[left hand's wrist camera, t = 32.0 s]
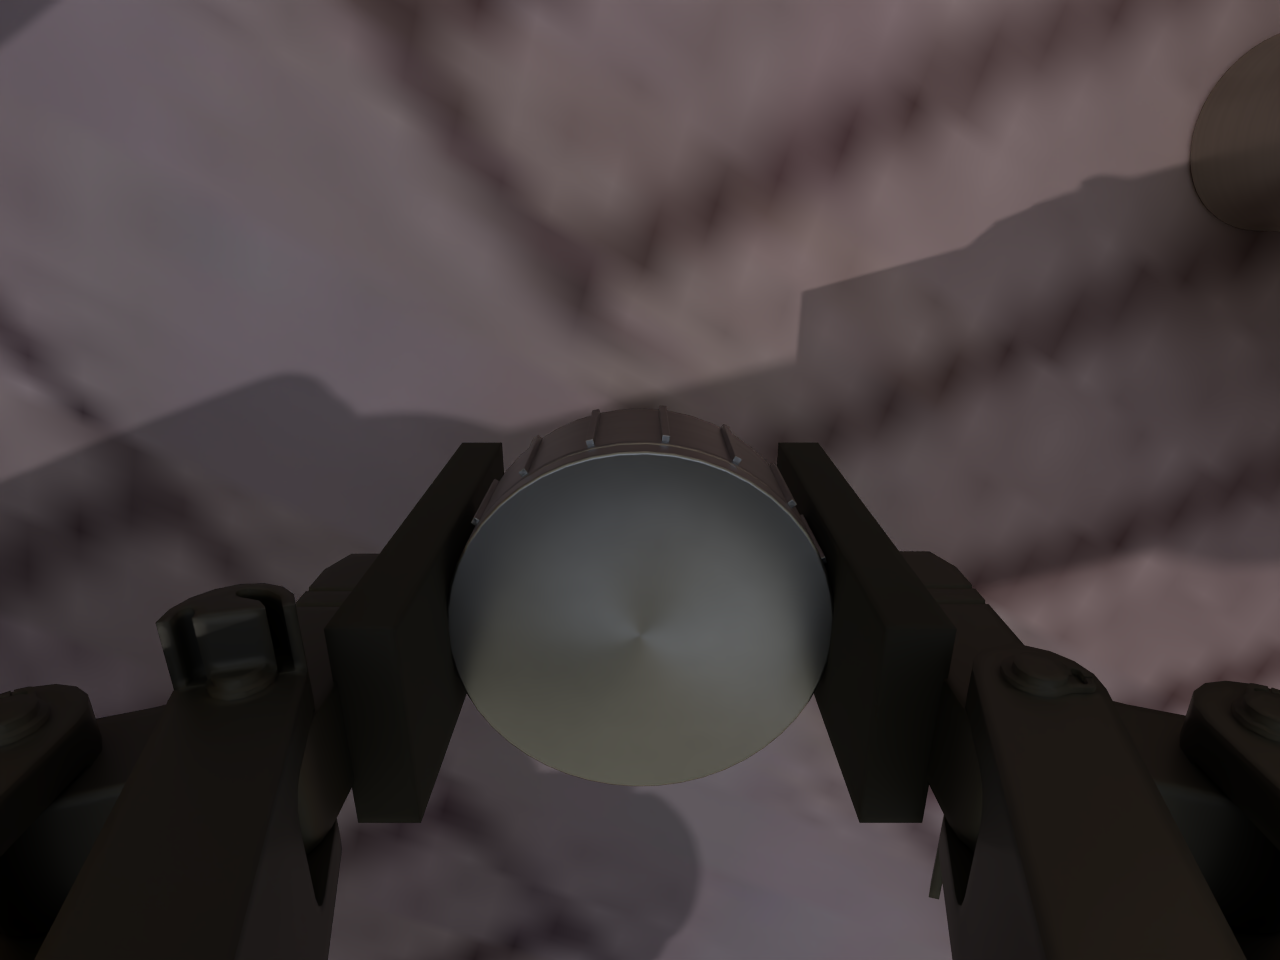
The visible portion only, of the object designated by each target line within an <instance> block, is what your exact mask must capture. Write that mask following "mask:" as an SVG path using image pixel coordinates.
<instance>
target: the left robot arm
mask: <svg viewBox="0 0 1280 960" xmlns="http://www.w3.org/2000/svg"><path fill="white" fill-rule="evenodd" d="M777 467H778V469H779V471H780V473H781V475H782V477H783V479H784V481H785V483H786V485H787V486H788V488H789V490H790V492H791V494H792V496H793V498H794V500H795V502H796V504H797V505H796V506H795V507H796V509H797V511H798V512H799V514H800V515H802V514H803V515H804V517H805V519H806V521H807V523H808V525H809V527H810V529H811V530H812V532H813V534H814V536H815V538H816V540H817V542H818V544H819V546H820V548H821V550H822V551H823V553H824V555H825V557H826V561H827V563H826V564H824V566H825V568H826V571H827V574H828V578H829V582H830V586H831V590H832V595H833V620H832V630H831V639H830V648H829V656H828V662H827V665H826V667H825V670H824V672H823V675H822V678H821V680H820V683H819V684H818V686H817V688H816V690H815V692H814V695H815V698H816V701H817V704H818V707H819V709H820V712H821V715H822V718H823V721H824V724H825V726H826V729H827V732H828V735H829V738H830V740H831V743H832V746H833V749H834V752H835V755H836V757H837V760H838V763H839V766H840V769H841V771H842V774H843V777H844V780H845V783H846V786H847V788H848V791H849V794H850V797H851V800H852V802H853V805H854V808H855V811H856V814H857V817H858V819H859V822H860V823H922V820H923V815H924V809H925V804H926V798H927V793H928V787H929V785H930V787H931V789H932V791H933V793H934V795H935V797H936V799H937V801H938V803H939V805H940V807H941V809H942V811H943V813H944V817H943V822H942V827H941V833H940V838H939V843H938V848H937V853H936V859H935V864H934V869H933V874H932V879H931V886H930V892H929V897H931V898H935V899H939V896H940V891H941V886H942V884H943V890H944V897H945V905H946V913H947V921H948V928H949V936H950V944H951V952H952V959H953V960H1280V690H1278V689H1275V688H1271V689H1269V688H1268V686H1263V685H1259V684H1254V683H1249V684H1248V683H1240V682H1232V681H1220V682H1211V683H1205V684H1203V685H1202V686H1200V687H1199V688H1198V689H1196V690H1195V691H1194V692H1193V695H1192V698H1191V702H1190V705H1189V708H1188V711H1187V714H1186V716H1184V715H1179V714H1174V713H1169V712H1164V711H1158V710H1153V709H1148V708H1143V707H1137V706H1132V705H1127V704H1123V703H1119V702H1115V701H1112V699H1111V697H1110V695H1109V693H1108V691H1107V689H1106V688H1105V687H1104V686H1103V684H1102V683H1101V682H1100V681H1099V680H1098V678H1097V677H1096V676H1095V675H1094V674H1093V673H1091V672H1090V671H1088V670H1087V669H1085V668H1084V667H1082V666H1081V665H1079V664H1078V663H1076V662H1075V661H1072V660H1070V659H1068V658H1065V657H1063V656H1060V655H1058V654H1056V653H1053V652H1051V651H1047V650H1042V649H1038V648H1034V647H1029V646H1025V645H1024V644H1023V643H1022V642H1021V641H1020V640H1019V639H1018V637H1017V636H1016V635H1015V634H1014V633H1013V632H1012V631H1011V629H1010V628H1009V627H1008V626H1007V625H1006V624H1005V622H1004V621H1003V620H1002V619H1001V618H1000V617H999V616H998V614H997V613H996V612H995V611H994V610H993V609H992V608H991V606H990V605H989V604H985V600H984V598H983V597H982V596H981V595H980V594H979V593H978V592H977V590H976V589H972V585H971V583H970V582H969V581H968V580H967V579H966V578H965V577H964V575H963V574H962V573H961V572H960V571H959V570H958V569H957V567H955V566H954V565H952V564H950V563H948V562H947V561H945V560H943V559H941V558H940V557H938V556H936V555H935V554H933V553H931V552H929V551H898V549H897V548H896V547H895V545H894V544H893V543H892V541H891V540H890V539H889V537H888V536H887V535H886V533H885V532H884V531H883V529H882V528H881V527H880V525H879V524H878V523H877V521H876V520H875V519H874V517H873V516H872V515H871V513H870V512H869V511H868V509H867V508H866V506H865V505H864V504H863V502H862V501H861V500H860V498H859V497H858V496H857V494H856V493H855V492H854V490H853V489H852V488H851V486H850V485H849V484H848V482H847V481H846V480H845V478H844V477H843V476H842V474H841V473H840V472H839V470H838V469H837V468H836V466H835V465H834V464H833V462H832V461H831V460H830V458H829V457H828V456H827V454H826V453H825V452H824V450H823V449H822V448H821V446H820V445H819V444H818V443H779V444H778V458H777ZM503 475H504V466H503V452H502V443H462V444H461V445H460V447H459V448H458V449H457V451H456V452H455V453H454V455H453V456H452V458H451V459H450V460H449V462H448V463H447V464H446V466H445V467H444V468H443V470H442V471H441V472H440V474H439V475H438V476H437V478H436V479H435V480H434V482H433V483H432V484H431V486H430V487H429V488H428V490H427V491H426V492H425V494H424V495H423V496H422V498H421V499H420V500H419V502H418V503H417V504H416V506H415V507H414V508H413V510H412V511H411V512H410V514H409V515H408V516H407V518H406V519H405V521H404V522H403V523H402V525H401V526H400V527H399V529H398V530H397V531H396V533H395V534H394V535H393V537H392V538H391V539H390V541H389V542H388V543H387V545H386V546H385V547H384V549H383V550H382V551H381V553H380V554H350V555H349V556H347V557H345V558H344V559H342V560H340V561H338V562H337V563H335V564H333V565H332V566H330V567H328V568H326V569H325V570H324V571H323V572H322V573H321V574H320V576H319V577H318V578H317V579H316V580H315V581H314V583H313V584H312V585H311V586H310V587H309V591H306V592H305V593H304V594H303V595H302V596H301V598H300V599H299V600H298V601H297V602H296V604H295V599H294V594H293V593H291V592H290V591H288V590H287V589H285V588H284V587H281V586H276V585H271V584H266V583H259V584H239V585H234V586H229V587H224V588H219V589H214V590H211V591H209V592H206V593H203V594H200V595H197V596H194V597H192V598H189V599H187V600H186V601H184V602H182V603H180V604H178V605H177V606H175V607H173V608H171V609H169V610H168V611H167V612H166V613H165V614H164V615H163V616H162V617H161V618H160V619H159V620H158V621H157V622H156V626H157V629H158V633H159V637H160V640H161V644H162V648H163V651H164V655H165V659H166V662H167V666H168V670H169V673H170V677H171V681H172V684H173V688H174V691H173V693H172V694H171V696H170V698H169V700H168V702H167V704H166V705H163V706H159V707H155V708H150V709H145V710H139V711H134V712H129V713H124V714H119V715H113V716H108V717H103V718H98V719H96V718H95V715H94V712H93V709H92V706H91V703H90V700H89V697H88V694H86V693H85V692H84V691H82V690H81V689H79V688H78V687H76V686H68V685H59V684H53V685H44V686H36V687H25V688H20V689H16V690H14V692H11V691H9V692H5V693H2V694H0V960H328V953H329V946H330V938H331V930H332V922H333V915H334V907H335V899H336V891H337V884H338V876H339V868H340V860H341V853H342V846H341V839H340V833H339V827H338V822H337V816H338V814H339V812H340V810H341V808H342V806H343V804H344V802H345V800H346V798H347V796H348V794H349V792H350V790H351V788H352V790H353V796H354V801H355V807H356V812H357V818H358V823H421V821H422V818H423V815H424V812H425V809H426V807H427V804H428V801H429V798H430V795H431V792H432V790H433V787H434V784H435V781H436V778H437V776H438V773H439V770H440V767H441V764H442V761H443V759H444V756H445V753H446V750H447V747H448V745H449V742H450V739H451V736H452V733H453V730H454V728H455V725H456V722H457V719H458V716H459V714H460V711H461V708H462V705H463V702H464V699H465V697H466V694H467V693H466V691H465V689H464V687H463V685H462V682H461V680H460V678H459V676H458V674H457V672H456V668H455V665H454V662H453V659H452V652H451V643H450V634H449V625H448V614H447V601H448V595H449V589H450V583H451V580H452V577H453V574H454V571H455V568H456V564H457V562H458V560H459V558H460V556H461V554H462V552H463V550H464V548H465V546H466V544H467V542H468V540H469V538H470V536H471V534H472V532H473V530H474V528H475V525H473V524H472V523H471V521H472V520H473V518H474V516H475V514H476V512H477V510H478V508H479V506H480V504H481V503H482V501H483V499H484V497H485V495H486V493H487V491H488V489H489V488H490V486H491V484H492V482H493V481H494V479H496V480H498V481H500V480H501V478H502V477H503Z"/></svg>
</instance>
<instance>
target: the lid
mask: <svg viewBox="0 0 1280 960" xmlns="http://www.w3.org/2000/svg"><path fill="white" fill-rule="evenodd" d="M796 505H797V504H796V502H795V500H794V498H793V496H792V494H791V492H790V490H789V488H788V486H787V485H786V483H785V481H784V479H783V477H782V475H781V473H780V471H779V469H778V467H777V466H776V465H775V464H774V463H772V464H771V465H770V466H769V464H768V463H767V462H766V461H765V460H764V459H763V458H762V457H761V456H760V455H759V454H758V453H756V452H755V451H754V450H753V449H752V448H751V447H750V446H749V445H747V444H746V443H744V442H743V441H741V440H740V439H739V438H737V437H736V436H734V435H733V434H732V433H731V431H730V428H729V427H728V426H726V425H724V424H723V425H722V427H721V428H720V427H718V426H716V425H714V424H712V423H709V422H706V421H704V420H701V419H698V418H695V417H693V416H689V415H685V414H680V413H676V412H671V411H667V408H666V406H659V410H653V409H625V410H617V411H611V412H605V413H600V411H599V409H597V410H593V411H592V415H591V416H589V417H586V418H582V419H579V420H576V421H574V422H572V423H570V424H567V425H565V426H563V427H561V428H558V429H556V430H555V431H553V432H552V433H550V434H548V435H547V436H545V437H543V438H542V439H541V437H540V436H539V435H538V436H536V437H535V438H534V439H533V441H532V443H531V445H530V447H529V449H528V450H526V451H525V452H524V453H523V454H521V456H520V457H519V458H518V459H517V460H516V461H515V462H514V463H513V464H512V465H511V466H510V467H509V469H508V470H507V471H506V472H505V474H504V475H503V477H502V478H501V480H500V481H498V480H496V479H494V481H493V482H492V484H491V486H490V488H489V489H488V491H487V493H486V495H485V497H484V499H483V501H482V503H481V504H480V506H479V508H478V510H477V512H476V514H475V516H474V518H473V520H472V521H471V523H472V524H473V525H475V528H474V530H473V532H472V534H471V536H470V538H469V540H468V542H467V544H466V546H465V548H464V550H463V552H462V554H461V556H460V558H459V560H458V562H457V564H456V568H455V571H454V574H453V577H452V580H451V583H450V589H449V595H448V601H447V614H448V625H449V634H450V643H451V652H452V659H453V662H454V665H455V668H456V672H457V674H458V676H459V678H460V680H461V682H462V685H463V687H464V689H465V691H466V693H467V694H468V696H469V697H470V699H471V700H472V702H473V703H474V705H475V707H476V708H477V710H478V711H479V712H480V713H481V714H482V716H483V717H484V718H485V719H486V720H487V721H488V723H489V724H490V725H491V726H492V727H493V728H494V729H495V730H496V731H497V732H498V733H500V734H501V735H502V736H503V737H504V738H505V739H506V740H507V741H508V742H510V743H511V744H513V745H514V746H515V747H517V748H518V749H520V750H521V751H522V752H524V753H525V754H527V755H529V756H530V757H532V758H534V759H536V760H538V761H539V762H541V763H543V764H545V765H547V766H549V767H552V768H554V769H557V770H559V771H561V772H564V773H566V774H569V775H573V776H576V777H579V778H583V779H586V780H590V781H595V782H601V783H607V784H612V785H625V786H659V785H666V784H674V783H681V782H685V781H690V780H694V779H698V778H702V777H705V776H708V775H711V774H714V773H717V772H719V771H722V770H725V769H727V768H729V767H731V766H733V765H735V764H737V763H739V762H741V761H744V760H745V759H747V758H749V757H750V756H752V755H753V754H755V753H757V752H758V751H760V750H761V749H763V748H764V747H766V746H767V745H768V744H769V743H771V742H772V741H773V740H774V739H775V738H777V737H778V736H779V735H780V734H782V733H783V731H784V730H785V729H786V728H787V727H788V726H789V725H790V724H791V723H792V722H793V721H794V720H795V719H796V718H797V717H798V715H799V714H800V713H801V711H802V710H803V709H804V707H805V706H806V705H807V703H808V702H809V701H810V699H811V697H812V695H813V693H814V692H815V690H816V688H817V686H818V684H819V683H820V680H821V678H822V675H823V672H824V670H825V667H826V665H827V662H828V656H829V648H830V639H831V630H832V620H833V595H832V590H831V586H830V582H829V578H828V574H827V571H826V568H825V566H824V564H826V563H827V561H826V557H825V555H824V553H823V551H822V550H821V548H820V546H819V544H818V542H817V540H816V538H815V536H814V534H813V532H812V530H811V529H810V527H809V525H808V523H807V521H806V519H805V517H804V515H803V514H802V515H800V514H799V512H798V511H797V509H796V507H795V506H796Z"/></svg>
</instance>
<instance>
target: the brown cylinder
mask: <svg viewBox="0 0 1280 960" xmlns="http://www.w3.org/2000/svg"><path fill="white" fill-rule="evenodd" d="M1190 163H1191V173H1192V178H1193V183H1194V186H1195V188H1196V191H1197V193H1198V195H1199V197H1200V199H1201V201H1202V202H1203V204H1204V205H1205V206H1206V207H1207V209H1208V210H1209V211H1210V212H1211V213H1212V214H1214V215H1215V216H1216V217H1217V218H1218V219H1220V220H1222V221H1223V222H1225V223H1226V224H1229V225H1231V226H1234V227H1236V228H1241V229H1245V230H1254V231H1280V34H1277V35H1275V36H1273V37H1271V38H1269V39H1267V40H1265V41H1263V42H1262V43H1260V44H1259V45H1257V46H1255V47H1254V48H1252V49H1251V50H1250V51H1249V52H1247V53H1246V54H1245V55H1243V56H1242V57H1241V58H1240V59H1239V60H1238V61H1237V62H1236V63H1235V64H1234V65H1233V66H1232V67H1230V68H1229V69H1228V71H1227V72H1226V73H1225V74H1224V75H1223V77H1222V78H1221V79H1220V80H1219V81H1218V83H1217V84H1216V86H1215V87H1214V89H1213V90H1212V92H1211V93H1210V95H1209V97H1208V98H1207V100H1206V102H1205V104H1204V106H1203V108H1202V110H1201V112H1200V115H1199V117H1198V120H1197V123H1196V126H1195V129H1194V133H1193V138H1192V143H1191V154H1190Z"/></svg>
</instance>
